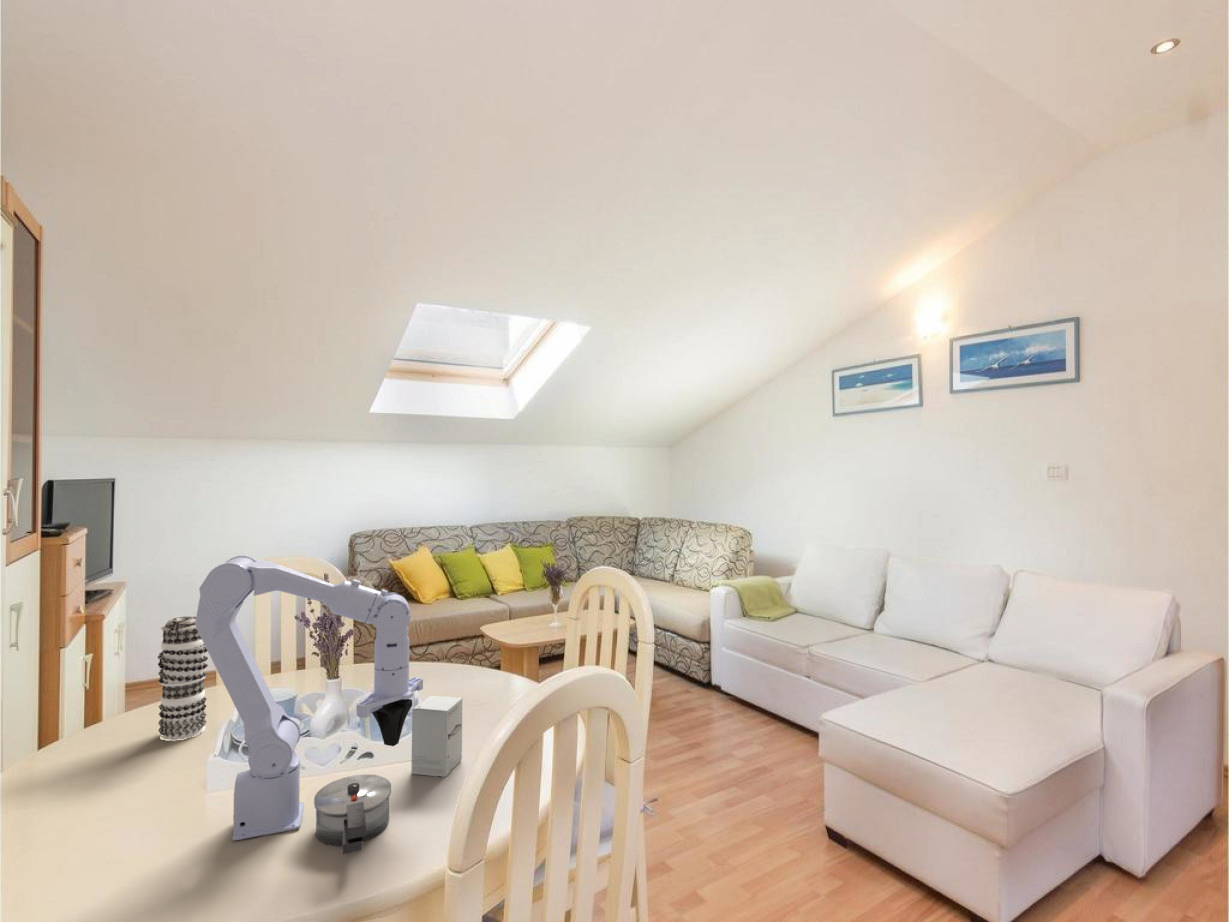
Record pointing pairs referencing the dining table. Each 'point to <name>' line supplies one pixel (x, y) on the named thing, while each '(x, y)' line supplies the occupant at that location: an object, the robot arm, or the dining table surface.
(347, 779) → the lid
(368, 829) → the pot
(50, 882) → the dining table surface
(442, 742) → the supplement box
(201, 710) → the decorative candle
